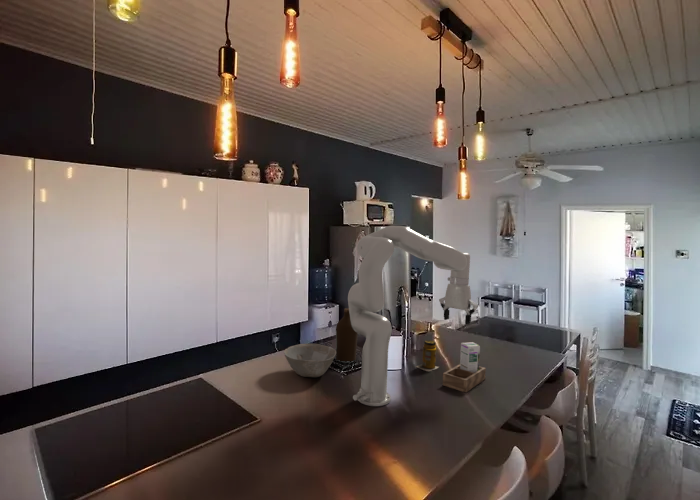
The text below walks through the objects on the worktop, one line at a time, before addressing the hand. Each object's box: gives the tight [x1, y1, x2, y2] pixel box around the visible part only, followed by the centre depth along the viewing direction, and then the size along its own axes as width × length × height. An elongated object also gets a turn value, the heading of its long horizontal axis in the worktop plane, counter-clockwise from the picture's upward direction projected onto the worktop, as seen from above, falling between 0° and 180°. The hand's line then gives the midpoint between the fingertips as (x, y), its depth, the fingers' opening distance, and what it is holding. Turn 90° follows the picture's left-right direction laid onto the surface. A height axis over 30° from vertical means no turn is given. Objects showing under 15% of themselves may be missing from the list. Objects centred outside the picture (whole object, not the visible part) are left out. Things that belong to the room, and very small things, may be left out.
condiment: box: [415, 339, 440, 372], centre depth 175 cm, size 7×8×12 cm
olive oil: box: [335, 307, 359, 361], centre depth 180 cm, size 11×11×25 cm
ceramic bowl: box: [283, 343, 336, 378], centre depth 162 cm, size 22×23×10 cm
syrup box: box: [459, 341, 481, 373], centre depth 162 cm, size 6×6×14 cm
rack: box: [442, 363, 487, 393], centre depth 159 cm, size 19×10×5 cm, turn 138°
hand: (456, 321), depth 161 cm, fingers open, 9 cm apart
